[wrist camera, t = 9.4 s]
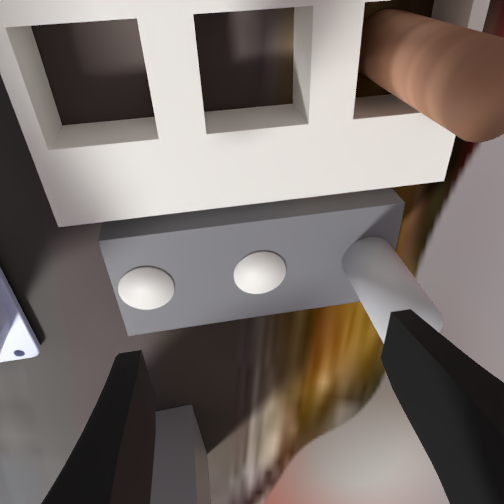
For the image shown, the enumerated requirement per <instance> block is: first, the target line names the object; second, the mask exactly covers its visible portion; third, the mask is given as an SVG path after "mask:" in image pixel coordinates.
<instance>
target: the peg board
mask: <svg viewBox="0 0 504 504" xmlns="http://www.w3.org/2000/svg"><path fill="white" fill-rule="evenodd" d="M375 1H389V0H0V74H1V77H2V79H3V82H4V84H5V87H6V90H7V92H8V95H9V98H10V100H11V103H12V106H13V108H14V111H15V114H16V116H17V119H18V121H19V124H20V127H21V129H22V132H23V135H24V137H25V140H26V143H27V145H28V148H29V151H30V153H31V156H32V158H33V161H34V164H35V166H36V169H37V172H38V174H39V177H40V180H41V182H42V185H43V188H44V190H45V193H46V196H47V198H48V201H49V203H50V206H51V209H52V211H53V214H54V217H55V219H56V222H57V225H58V227H65V226H73V225H82V224H90V223H98V222H107V221H115V220H123V219H132V218H140V217H148V216H157V215H165V214H173V213H182V212H190V211H199V210H207V209H215V208H224V207H232V206H240V205H249V204H257V203H265V202H274V201H282V200H290V199H299V198H307V197H315V196H324V195H332V194H340V193H349V192H357V191H365V190H374V189H382V188H390V187H399V186H407V185H415V184H424V183H432V182H440V181H444V179H445V175H446V171H447V167H448V163H449V159H450V156H451V152H452V148H453V144H454V140H455V136H456V135H455V134H453V133H452V132H450V131H448V130H447V129H445V128H444V127H442V126H441V125H439V124H438V123H436V122H435V121H433V120H431V119H430V118H428V117H427V116H425V115H424V114H422V113H421V112H419V111H418V110H416V109H415V108H413V107H411V106H410V105H408V104H407V103H405V102H404V101H402V100H401V99H399V98H398V97H396V96H394V95H393V94H388V95H378V96H367V97H357V98H355V94H356V85H357V75H358V65H359V55H360V46H361V36H362V26H363V16H364V7H365V2H375ZM489 3H490V0H434V4H433V9H432V14H431V18H433V19H436V20H440V21H444V22H447V23H451V24H455V25H458V26H462V27H466V28H470V29H473V30H477V31H481V32H482V30H483V27H484V23H485V19H486V15H487V11H488V7H489ZM289 7H294V47H293V104H283V105H272V106H262V107H251V108H241V109H230V110H220V111H209V112H204V108H203V99H202V90H201V81H200V72H199V62H198V53H197V44H196V35H195V26H194V17H193V14H204V13H218V12H232V11H246V10H261V9H275V8H289ZM132 18H137V21H138V27H139V32H140V38H141V44H142V49H143V55H144V60H145V66H146V71H147V77H148V82H149V88H150V93H151V99H152V104H153V110H154V115H155V117H146V118H136V119H125V120H115V121H104V122H94V123H83V124H73V125H62V123H61V120H60V117H59V114H58V110H57V107H56V104H55V101H54V98H53V95H52V91H51V88H50V85H49V82H48V79H47V76H46V72H45V69H44V66H43V63H42V60H41V57H40V54H39V50H38V47H37V44H36V41H35V38H34V35H33V31H32V28H31V26H33V25H47V24H61V23H75V22H90V21H104V20H118V19H132Z"/></svg>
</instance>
